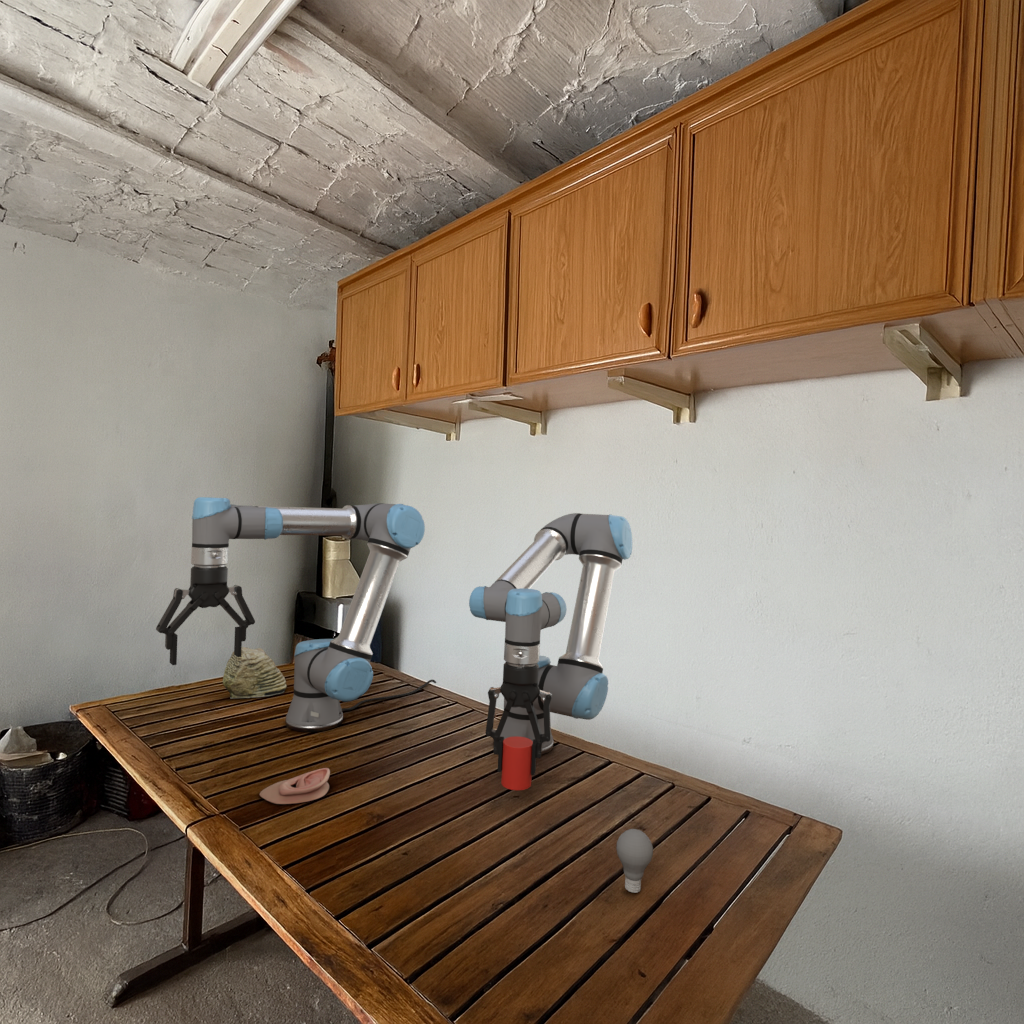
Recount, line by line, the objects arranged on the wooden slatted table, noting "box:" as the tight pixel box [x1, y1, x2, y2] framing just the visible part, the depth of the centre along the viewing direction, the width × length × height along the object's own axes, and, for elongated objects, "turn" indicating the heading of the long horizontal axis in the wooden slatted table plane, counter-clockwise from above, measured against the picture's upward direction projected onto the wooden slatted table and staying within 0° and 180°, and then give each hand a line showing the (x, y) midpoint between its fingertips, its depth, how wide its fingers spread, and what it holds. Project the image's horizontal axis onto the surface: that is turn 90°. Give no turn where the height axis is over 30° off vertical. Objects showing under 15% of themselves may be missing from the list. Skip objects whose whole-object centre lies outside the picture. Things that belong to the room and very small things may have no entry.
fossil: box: [222, 646, 288, 699], centre depth 198 cm, size 9×18×15 cm, turn 132°
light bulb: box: [615, 828, 654, 894], centre depth 106 cm, size 6×6×10 cm
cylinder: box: [500, 736, 533, 791], centre depth 134 cm, size 6×6×9 cm
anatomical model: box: [259, 767, 331, 805], centre depth 135 cm, size 13×4×12 cm
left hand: (206, 659), depth 143 cm, fingers open, 13 cm apart
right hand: (516, 770), depth 134 cm, fingers closed on cylinder, 6 cm apart
